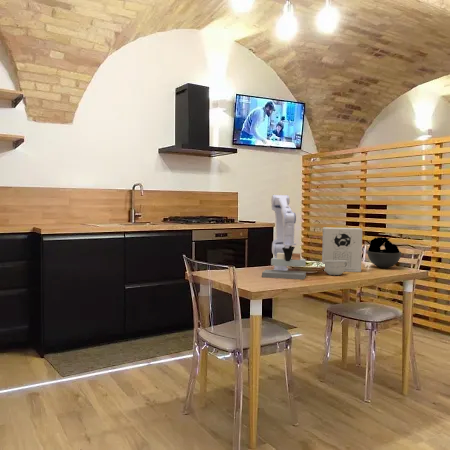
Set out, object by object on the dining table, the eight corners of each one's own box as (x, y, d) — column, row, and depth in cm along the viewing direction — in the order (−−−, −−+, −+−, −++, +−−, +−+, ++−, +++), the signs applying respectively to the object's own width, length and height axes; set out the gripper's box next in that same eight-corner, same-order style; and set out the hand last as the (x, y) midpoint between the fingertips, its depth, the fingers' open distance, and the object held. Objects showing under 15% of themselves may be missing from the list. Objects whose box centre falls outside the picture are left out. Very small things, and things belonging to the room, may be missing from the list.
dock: (265, 273, 259) (265, 269, 258) (305, 276, 253) (305, 271, 253) (261, 277, 248) (262, 272, 248) (303, 279, 242) (303, 274, 242)
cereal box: (358, 270, 277) (360, 228, 276) (361, 272, 270) (362, 228, 268) (321, 269, 280) (322, 227, 278) (323, 271, 272) (324, 228, 271)
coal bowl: (375, 264, 303) (376, 235, 302) (406, 267, 289) (407, 237, 288) (360, 267, 288) (361, 237, 287) (392, 271, 274) (393, 239, 273)
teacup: (329, 276, 253) (329, 261, 253) (321, 273, 264) (321, 259, 263) (353, 275, 256) (353, 261, 255) (344, 272, 266) (344, 258, 266)
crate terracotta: (292, 258, 254) (292, 253, 254) (300, 259, 253) (300, 253, 253) (291, 259, 250) (292, 254, 250) (299, 259, 249) (299, 254, 249)
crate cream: (278, 258, 256) (278, 252, 256) (285, 258, 255) (285, 253, 255) (276, 259, 252) (277, 253, 252) (284, 259, 251) (284, 253, 251)
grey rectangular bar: (271, 265, 252) (271, 259, 252) (272, 264, 257) (272, 257, 257) (304, 266, 248) (304, 260, 248) (305, 265, 253) (305, 259, 252)
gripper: (294, 236, 243) (294, 262, 244) (297, 234, 257) (297, 259, 258) (281, 236, 245) (280, 261, 246) (284, 234, 259) (284, 258, 260)
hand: (288, 260), depth 252 cm, fingers closed on grey rectangular bar, 5 cm apart
